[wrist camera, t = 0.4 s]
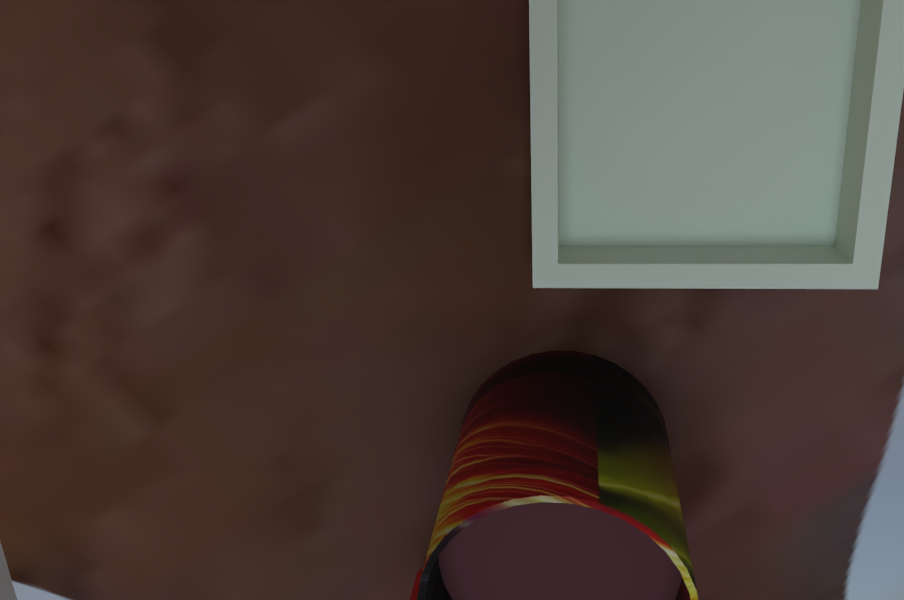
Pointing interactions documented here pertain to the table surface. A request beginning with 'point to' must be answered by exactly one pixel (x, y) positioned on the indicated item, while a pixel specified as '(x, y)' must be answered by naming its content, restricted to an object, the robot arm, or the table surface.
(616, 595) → the mug
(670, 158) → the tray
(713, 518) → the table surface
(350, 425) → the table surface
